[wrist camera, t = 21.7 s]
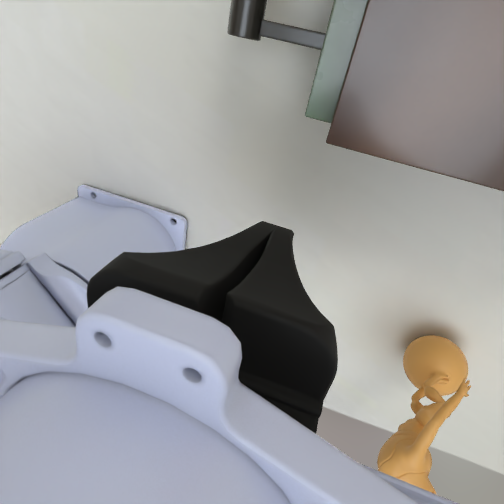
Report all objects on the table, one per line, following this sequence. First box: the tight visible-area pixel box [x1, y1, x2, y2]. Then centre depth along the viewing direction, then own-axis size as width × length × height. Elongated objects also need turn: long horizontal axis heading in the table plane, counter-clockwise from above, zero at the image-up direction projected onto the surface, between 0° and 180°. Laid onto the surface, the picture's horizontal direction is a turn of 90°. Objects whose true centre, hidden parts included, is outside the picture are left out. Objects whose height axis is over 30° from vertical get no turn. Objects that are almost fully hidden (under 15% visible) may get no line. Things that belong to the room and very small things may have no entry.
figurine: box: [377, 335, 471, 494], centre depth 21 cm, size 8×6×12 cm
